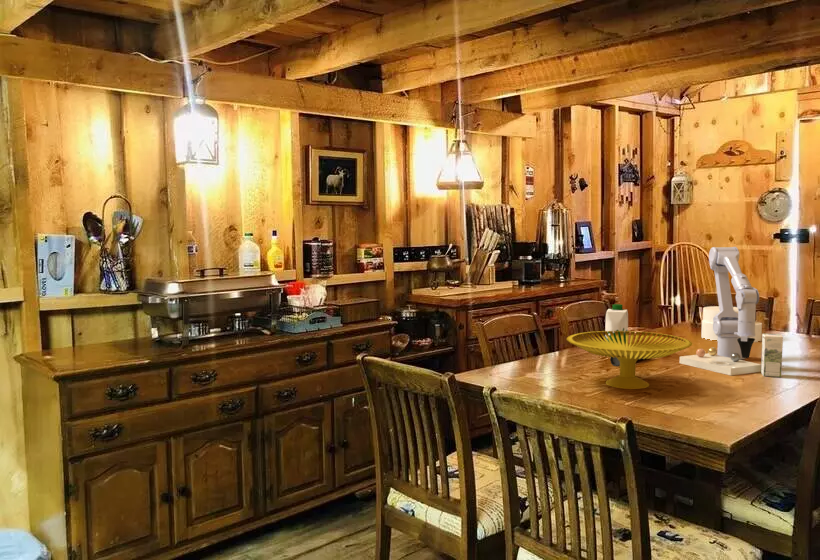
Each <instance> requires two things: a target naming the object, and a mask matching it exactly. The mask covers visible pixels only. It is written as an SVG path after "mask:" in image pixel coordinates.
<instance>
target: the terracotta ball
mask: <svg viewBox="0 0 820 560" xmlns="http://www.w3.org/2000/svg"><path fill="white" fill-rule="evenodd" d="M705 354H706V351H705V349H703V348H697V350H696V352H695V355H697V356H699V357H703V356H704V355H705Z"/></svg>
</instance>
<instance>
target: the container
mask: <svg viewBox="0 0 820 560" xmlns="http://www.w3.org/2000/svg"><path fill="white" fill-rule="evenodd" d="M733 310H734V311H735V312H736V313H738V308H737V306H733ZM702 312H703V313H702V320H701V332H700V333H701V337H700V338H701V339H703V338H705V339H704V340H707V339H710V340H709V341H712V340H717V341H716V342H718V336H717V335H716V334H715V333H714V331H713V318H714V316H715V315H716V314H718V313H719V312H720V310H719V305H718V306H717V305H716V306H714V305H713V306H704V307H703V308H702ZM762 329H763V323H762V322H760V321H756V320H755V336H754V337H750V338H754V339H755V341H754V342H753V343H759V342H758V341H760V342H762V334H763V332H762V331H763V330H762Z"/></svg>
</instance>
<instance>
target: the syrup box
mask: <svg viewBox="0 0 820 560" xmlns="http://www.w3.org/2000/svg"><path fill="white" fill-rule="evenodd" d="M783 343H784V338H783V335H782V334H780V333H762V338H761V363H760V364H761V373H760V374H761V375H762V376H763V377H771V378H772V377H773V378H782V372H783V371H782V370H783V368H782V367H783V366H782V365H783V347H784V346H783Z"/></svg>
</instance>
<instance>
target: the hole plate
mask: <svg viewBox="0 0 820 560" xmlns="http://www.w3.org/2000/svg"><path fill="white" fill-rule="evenodd" d="M679 364H682V365H686V366H690V367H695V368H698V369H702V370H707V371H710V372H715V373H717V374H723V375H728V376H737V375H745V374H752V373H760V372H761V363H756V362H752V361H746V360H744V359H740V360H739V361H737V362H734V361H732V360H731V358H729V357H724V356H719V355H717V354H716V355H714V356H711V355H710V354H709V353H708V352H707V353H705V355H704V356H703V357H699V356H697V354H692V355H691V354H690V355H683V356H682V355H681V356H679Z"/></svg>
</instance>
